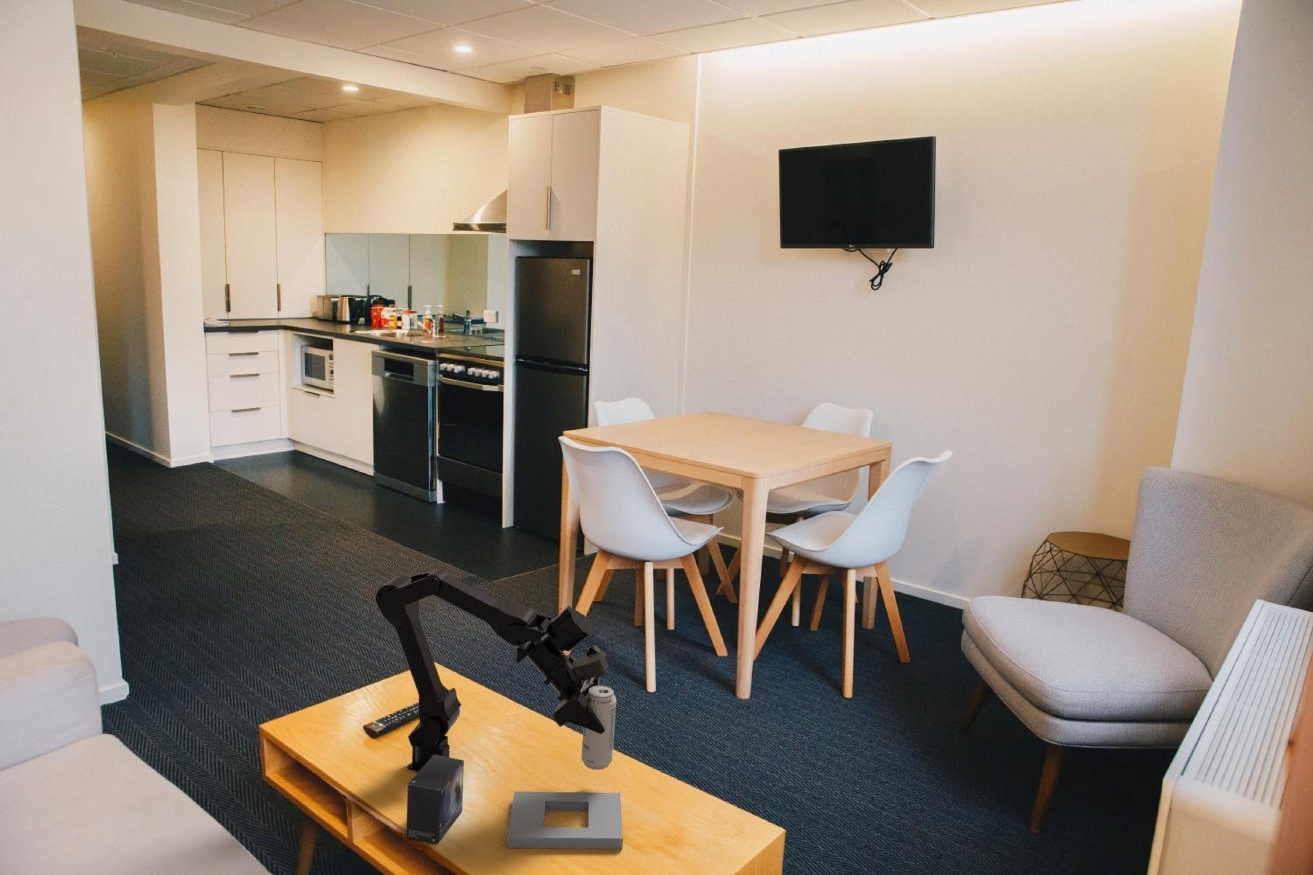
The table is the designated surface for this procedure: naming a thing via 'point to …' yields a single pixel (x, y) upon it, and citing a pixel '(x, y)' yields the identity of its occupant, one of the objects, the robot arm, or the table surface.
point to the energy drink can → (601, 745)
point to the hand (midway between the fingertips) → (606, 724)
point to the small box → (434, 799)
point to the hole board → (533, 834)
